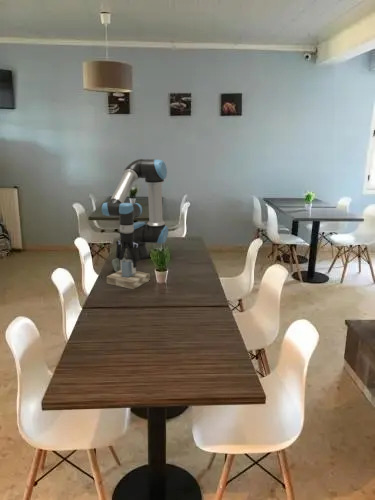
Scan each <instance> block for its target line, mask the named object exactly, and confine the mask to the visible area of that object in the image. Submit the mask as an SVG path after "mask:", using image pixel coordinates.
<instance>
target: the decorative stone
mask: <svg viewBox="0 0 375 500" xmlns="http://www.w3.org/2000/svg"><path fill="white" fill-rule="evenodd" d="M123 259H124V261H125V260H126V259H127V258H126V257H123ZM111 264H112V268H113V270H114V271H115V273H116V272H118V271H120V270H121V265H120V263H119V259H118V258H113V259H112V260H111Z"/></svg>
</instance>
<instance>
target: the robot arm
mask: <svg viewBox="0 0 375 500" xmlns="http://www.w3.org/2000/svg"><path fill="white" fill-rule="evenodd" d="M167 169H168V168H167V165H166V163H165V161H163V160H162V159H157V158H156V159H154V158H153V159H151V158H150V159H149V158H147V159H146V158H144V159H143V158H139V159H136V160H134V161H132V162H131V163H130V164H128V165H127V166H126V167H125V168H124V170H123V172H122V177H121V179H120V181H119V183H118V185H117V186H116V188H115V191H114V192H113V194H112V196H111V198H110V200H109V201H106V202H103V203H102V204H101V213H102V215H103V216H107V217H118V218H119V238H120V239H119V240H116V241H115V244H116V253H115V257H116V258H118V259H119V263H120V265H121V271H122V262H124V259H123V258H126V259H130V260H132V261H133V262H131V263H132V274H133V273H136V271H137V265H138V264H137V262H140V261H141V260H144V259H147V258H149V257H150V255H149V254H150V253H149V251H148V247H147V245H146V244H149V243H150V244H158V245H159V244H164V243H165V244H166V241H167V239H168V236H169V227H168V226H167V225H166V222H165V221H164V219H163V193H162V190H163V189H162V184H163V183H164V182H165V179H166V178H167V174H168V171H167ZM138 179H144V180H145V181H144V182H145V183H146V184H147V197H148V219H149V221H148V222H147V223H146V222H145V221H136V222H134V219H135V218H138V217H139V216H141V214H142V213H143V207H142V205H141V204H140V203H137V202H125V201H126V200H127V197H128V195H129V193H130V191H131V189H132V188H133V185H134V183H135V182H137V181H138ZM126 249H127V250H126ZM125 252H126V253H125ZM124 256H125V257H124Z"/></svg>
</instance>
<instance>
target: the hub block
mask: <svg viewBox="0 0 375 500" xmlns="http://www.w3.org/2000/svg"><path fill="white" fill-rule="evenodd" d="M149 280H150V281H151V274H150V273H148V272H147V273H146V272H142V271H137V270H136V273H134V275H133V276H131V277H129V278H126V277H122V271H121V270H120V271H118V272H116V271H115V272H113V273H111V274H109V275H107V276H106V284H108V285H113V286H116V287H121V288H126V289H129V290H135V289H136V288H138V287H141V286H142V285H144V284H146V283H148V282H149Z"/></svg>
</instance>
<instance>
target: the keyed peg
mask: <svg viewBox="0 0 375 500" xmlns="http://www.w3.org/2000/svg"><path fill="white" fill-rule="evenodd" d="M125 259H126V260H125V261H124V262H122V277H126V278H129V277H131V276H133V275H134V273H133V274H132V263H131V262H133V261H132V259H128V258H125Z"/></svg>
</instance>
